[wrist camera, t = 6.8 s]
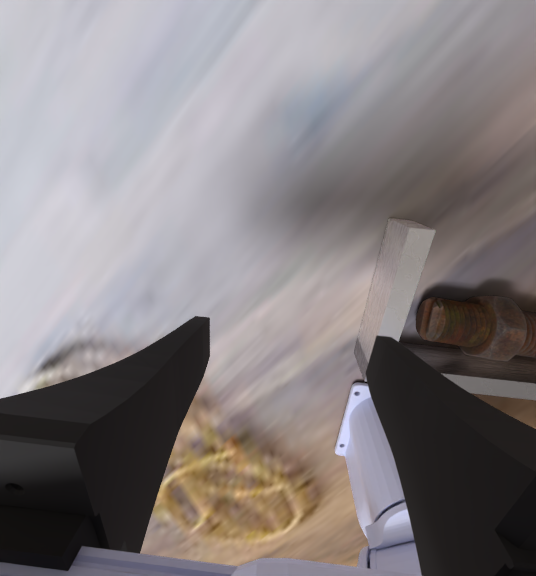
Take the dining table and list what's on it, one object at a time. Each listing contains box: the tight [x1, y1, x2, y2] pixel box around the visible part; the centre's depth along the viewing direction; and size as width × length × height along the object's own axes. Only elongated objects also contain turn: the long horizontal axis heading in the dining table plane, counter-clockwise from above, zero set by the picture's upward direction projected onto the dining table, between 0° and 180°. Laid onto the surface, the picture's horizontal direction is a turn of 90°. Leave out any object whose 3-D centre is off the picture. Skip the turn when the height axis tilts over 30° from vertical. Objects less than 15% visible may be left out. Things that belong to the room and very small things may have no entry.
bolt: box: [416, 296, 536, 362], centre depth 19 cm, size 6×5×15 cm
